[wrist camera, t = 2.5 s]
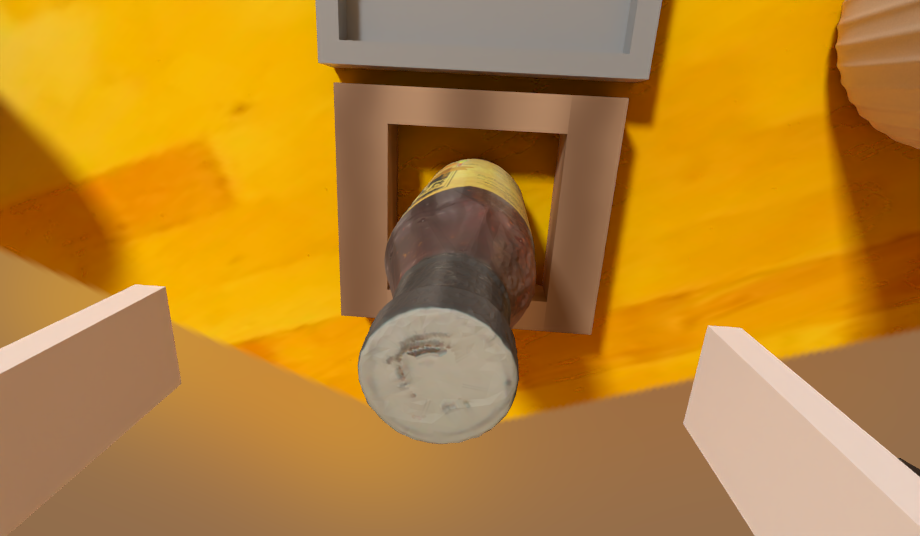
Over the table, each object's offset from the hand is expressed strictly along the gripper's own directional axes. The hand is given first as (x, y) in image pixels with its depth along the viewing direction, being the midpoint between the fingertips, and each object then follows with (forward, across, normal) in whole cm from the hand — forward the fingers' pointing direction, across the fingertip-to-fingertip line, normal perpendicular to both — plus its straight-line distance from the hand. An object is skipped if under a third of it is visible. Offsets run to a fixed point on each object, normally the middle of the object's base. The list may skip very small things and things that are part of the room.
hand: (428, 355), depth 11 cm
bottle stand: (+20, 0, 0) cm, 20 cm away
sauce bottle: (+20, 0, 0) cm, 20 cm away
